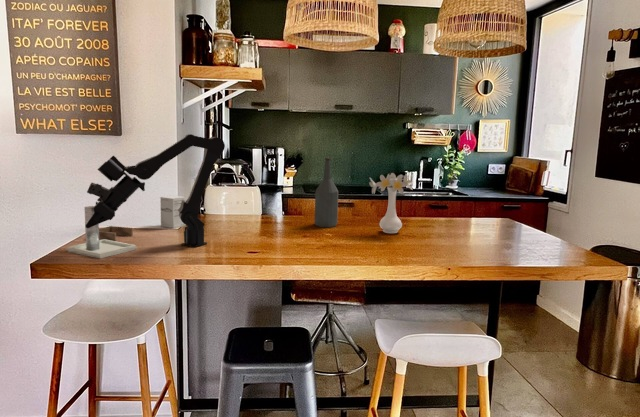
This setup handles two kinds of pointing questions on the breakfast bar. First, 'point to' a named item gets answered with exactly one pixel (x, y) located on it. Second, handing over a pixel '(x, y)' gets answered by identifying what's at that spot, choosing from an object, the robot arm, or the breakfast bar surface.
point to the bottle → (326, 200)
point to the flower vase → (391, 200)
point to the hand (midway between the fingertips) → (86, 225)
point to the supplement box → (171, 211)
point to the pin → (91, 231)
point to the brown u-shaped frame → (114, 232)
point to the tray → (102, 249)
